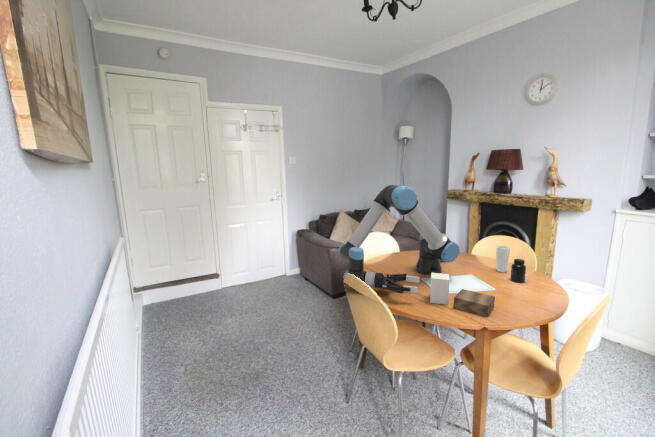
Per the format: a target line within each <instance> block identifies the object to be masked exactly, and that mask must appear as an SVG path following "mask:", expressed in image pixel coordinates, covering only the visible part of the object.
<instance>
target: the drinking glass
mask: <svg viewBox="0 0 655 437" xmlns="http://www.w3.org/2000/svg"><path fill="white" fill-rule="evenodd" d="M510 249H511V248H510V247H509V246H506V245H497V246H496V252H495V253H496V272H499V273H506V272H507V270H508V264H509V259H510V252H511V250H510Z"/></svg>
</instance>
